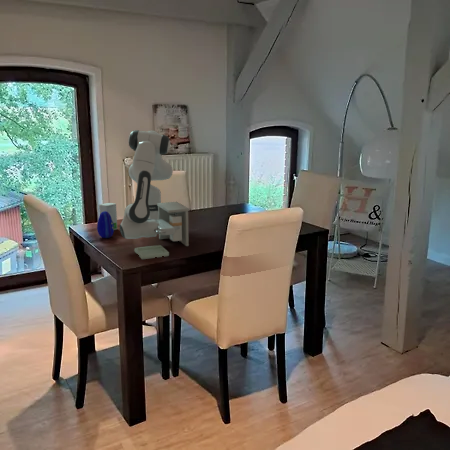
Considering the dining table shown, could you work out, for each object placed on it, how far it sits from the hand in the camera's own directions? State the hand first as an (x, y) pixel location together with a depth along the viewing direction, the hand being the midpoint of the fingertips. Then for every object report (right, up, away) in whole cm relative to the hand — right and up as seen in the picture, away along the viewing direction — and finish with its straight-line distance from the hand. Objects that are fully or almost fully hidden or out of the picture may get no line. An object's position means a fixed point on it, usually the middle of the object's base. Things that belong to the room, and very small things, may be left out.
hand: (177, 225), depth 258 cm
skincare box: (-43, -3, +31) cm, 53 cm away
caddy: (-1, -7, +2) cm, 8 cm away
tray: (-12, -14, -13) cm, 22 cm away
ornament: (-41, -7, +15) cm, 44 cm away
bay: (-3, -9, +6) cm, 11 cm away
